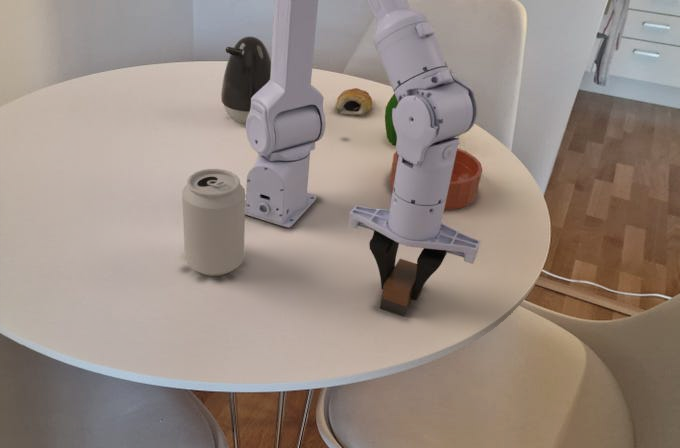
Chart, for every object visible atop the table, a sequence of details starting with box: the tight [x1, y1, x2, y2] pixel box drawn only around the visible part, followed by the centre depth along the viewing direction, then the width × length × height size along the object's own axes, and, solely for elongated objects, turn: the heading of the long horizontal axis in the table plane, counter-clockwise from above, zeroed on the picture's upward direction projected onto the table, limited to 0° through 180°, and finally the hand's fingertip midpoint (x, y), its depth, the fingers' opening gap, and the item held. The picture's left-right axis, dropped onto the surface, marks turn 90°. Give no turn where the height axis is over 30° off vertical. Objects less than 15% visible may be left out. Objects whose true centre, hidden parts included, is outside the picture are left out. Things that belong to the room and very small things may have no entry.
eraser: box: [379, 258, 417, 317], centre depth 76 cm, size 6×3×4 cm, turn 153°
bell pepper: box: [384, 93, 398, 147], centre depth 111 cm, size 8×8×10 cm
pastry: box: [335, 87, 373, 117], centre depth 125 cm, size 9×7×4 cm
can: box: [181, 168, 246, 277], centre depth 79 cm, size 8×8×12 cm
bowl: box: [389, 147, 483, 211], centre depth 99 cm, size 13×13×4 cm
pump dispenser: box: [220, 35, 271, 125], centre depth 115 cm, size 10×10×15 cm
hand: (401, 290), depth 77 cm, fingers closed on eraser, 3 cm apart
